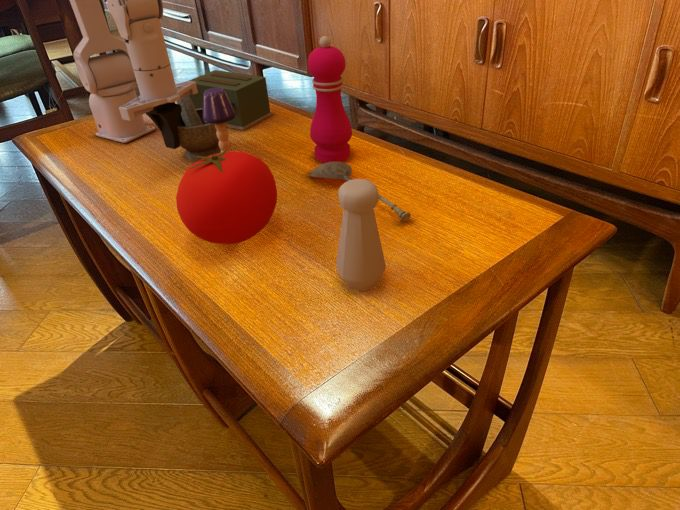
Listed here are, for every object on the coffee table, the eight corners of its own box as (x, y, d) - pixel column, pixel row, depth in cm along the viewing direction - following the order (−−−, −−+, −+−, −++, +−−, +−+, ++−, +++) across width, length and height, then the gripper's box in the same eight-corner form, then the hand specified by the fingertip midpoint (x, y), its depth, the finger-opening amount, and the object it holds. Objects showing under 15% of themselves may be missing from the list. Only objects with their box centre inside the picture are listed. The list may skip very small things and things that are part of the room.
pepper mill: (338, 168, 85) (331, 43, 73) (304, 159, 89) (291, 39, 77) (360, 152, 90) (357, 32, 78) (327, 144, 93) (319, 29, 82)
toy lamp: (214, 198, 79) (189, 92, 69) (236, 186, 82) (215, 82, 72) (235, 206, 77) (213, 98, 67) (257, 193, 80) (238, 87, 70)
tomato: (299, 235, 69) (289, 158, 62) (203, 272, 64) (181, 192, 57) (261, 199, 78) (249, 129, 71) (174, 229, 72) (152, 155, 66)
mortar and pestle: (239, 154, 92) (226, 88, 85) (191, 170, 88) (174, 102, 81) (211, 137, 99) (198, 75, 92) (166, 151, 95) (148, 87, 88)
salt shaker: (335, 268, 63) (328, 174, 55) (381, 263, 63) (380, 169, 55) (339, 298, 58) (332, 200, 50) (389, 294, 58) (389, 195, 51)
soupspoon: (335, 168, 87) (303, 181, 84) (332, 149, 85) (300, 163, 82) (423, 214, 71) (388, 233, 69) (423, 193, 70) (386, 211, 67)
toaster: (187, 122, 107) (178, 83, 102) (222, 105, 114) (215, 68, 109) (238, 133, 100) (231, 92, 95) (272, 114, 107) (266, 76, 103)
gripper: (130, 81, 73) (156, 168, 81) (202, 56, 82) (219, 135, 90) (100, 76, 76) (127, 160, 84) (173, 53, 86) (191, 129, 94)
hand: (173, 146), depth 87 cm, fingers closed
